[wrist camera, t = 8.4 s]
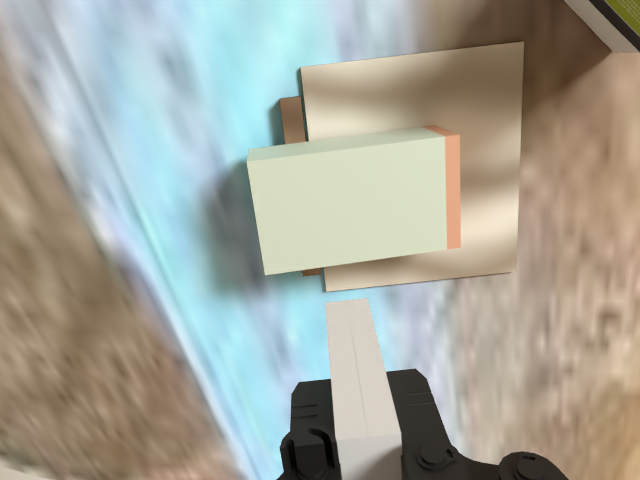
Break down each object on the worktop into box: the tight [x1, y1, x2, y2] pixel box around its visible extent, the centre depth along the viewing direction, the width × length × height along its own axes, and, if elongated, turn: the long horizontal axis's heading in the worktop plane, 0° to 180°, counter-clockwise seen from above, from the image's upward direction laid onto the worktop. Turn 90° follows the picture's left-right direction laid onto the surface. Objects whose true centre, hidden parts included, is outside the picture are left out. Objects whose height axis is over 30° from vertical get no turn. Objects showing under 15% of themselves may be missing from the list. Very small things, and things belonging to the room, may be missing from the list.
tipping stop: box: [280, 42, 524, 292], centre depth 38 cm, size 18×18×1 cm
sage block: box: [247, 125, 461, 275], centre depth 36 cm, size 8×5×14 cm
